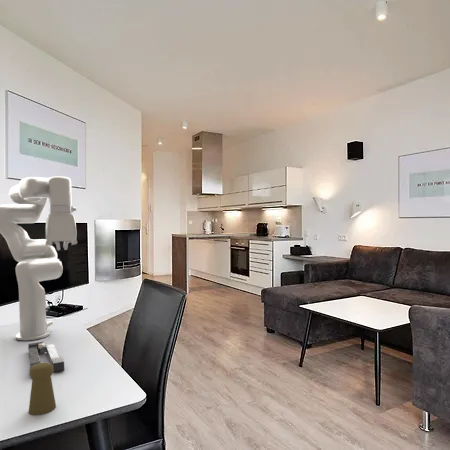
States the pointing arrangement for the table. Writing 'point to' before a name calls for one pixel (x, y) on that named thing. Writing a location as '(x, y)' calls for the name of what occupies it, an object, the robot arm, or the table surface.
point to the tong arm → (52, 356)
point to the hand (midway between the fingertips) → (62, 260)
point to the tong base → (34, 353)
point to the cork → (41, 389)
